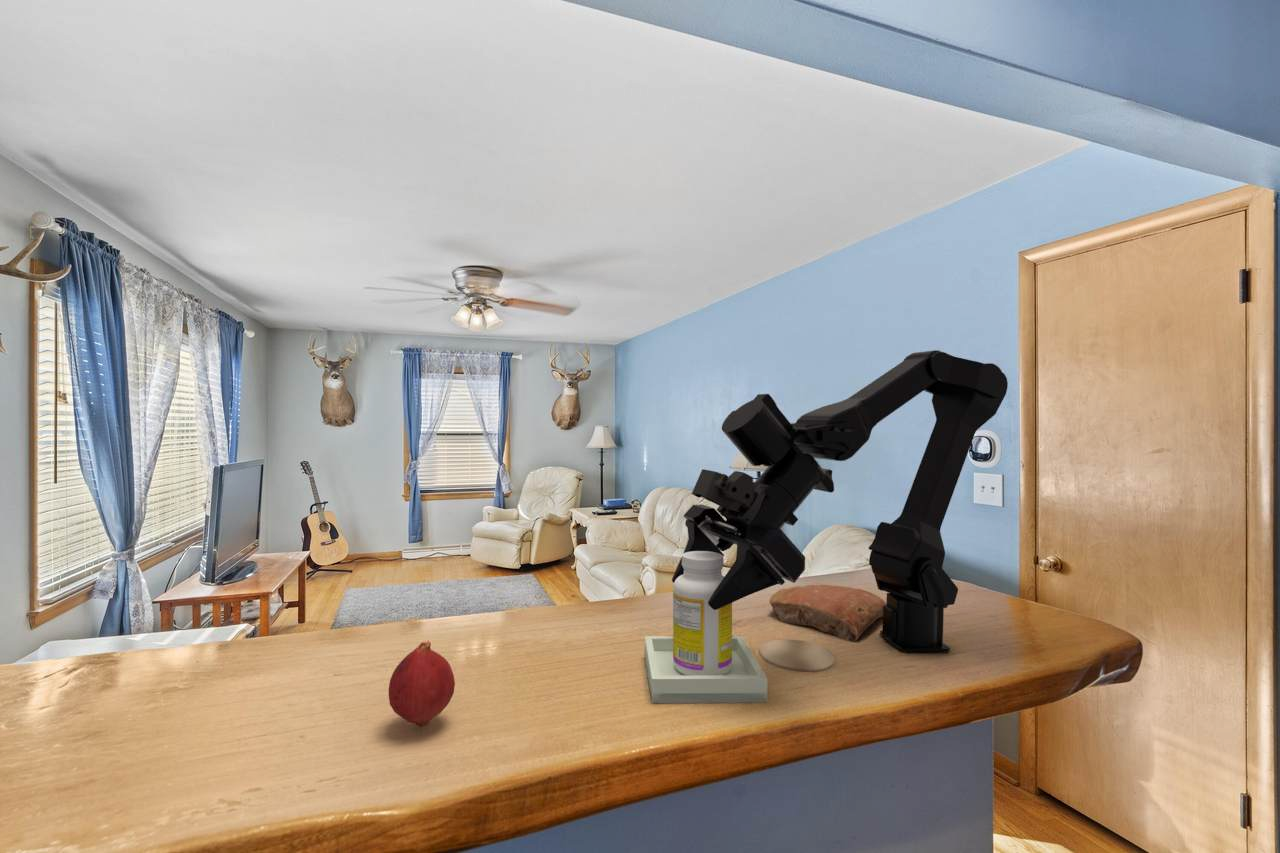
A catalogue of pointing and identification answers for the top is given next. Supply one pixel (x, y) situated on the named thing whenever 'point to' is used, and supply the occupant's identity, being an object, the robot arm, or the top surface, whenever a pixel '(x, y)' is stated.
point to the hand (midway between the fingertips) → (691, 594)
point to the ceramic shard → (829, 608)
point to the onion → (421, 685)
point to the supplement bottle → (701, 618)
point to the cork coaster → (797, 655)
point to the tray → (703, 676)
